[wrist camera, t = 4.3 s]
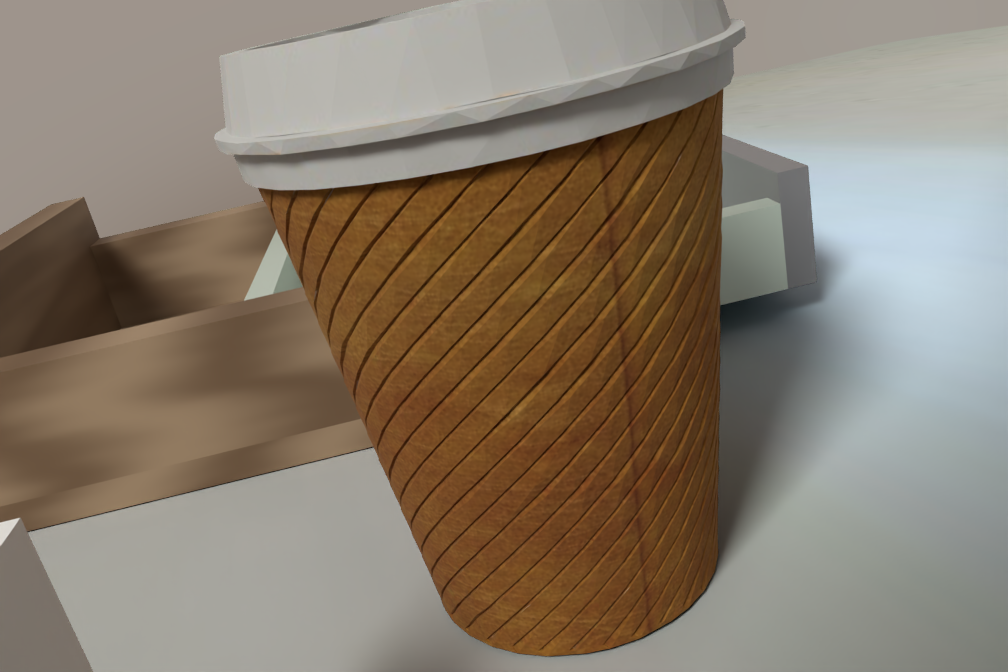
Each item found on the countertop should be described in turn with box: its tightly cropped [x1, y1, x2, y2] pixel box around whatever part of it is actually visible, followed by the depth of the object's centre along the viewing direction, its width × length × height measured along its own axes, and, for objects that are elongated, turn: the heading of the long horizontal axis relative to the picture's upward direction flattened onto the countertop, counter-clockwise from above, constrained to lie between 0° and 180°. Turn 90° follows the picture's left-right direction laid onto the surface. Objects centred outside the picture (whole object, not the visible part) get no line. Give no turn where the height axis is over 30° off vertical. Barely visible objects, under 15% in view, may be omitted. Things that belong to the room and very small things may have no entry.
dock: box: [0, 197, 373, 531], centre depth 34 cm, size 20×18×7 cm
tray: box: [244, 135, 817, 305], centre depth 35 cm, size 19×14×4 cm
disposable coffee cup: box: [214, 0, 745, 656], centre depth 18 cm, size 10×10×12 cm
